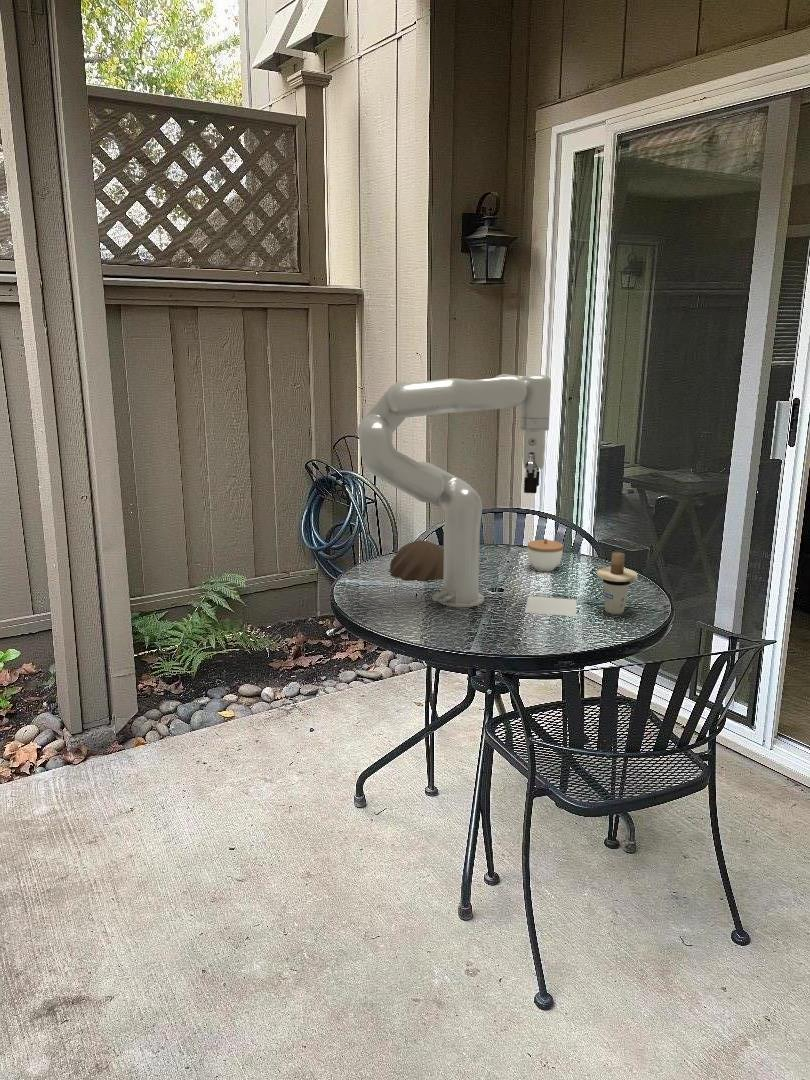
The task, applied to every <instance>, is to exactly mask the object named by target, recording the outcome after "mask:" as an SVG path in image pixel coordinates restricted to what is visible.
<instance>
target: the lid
mask: <svg viewBox="0 0 810 1080" xmlns="http://www.w3.org/2000/svg"><path fill="white" fill-rule="evenodd" d="M625 555H626V554H625V553H623V552H618V551H617V552H616V551H615V552H614V551H613V552H612V553H611V561H610V566H607V567H602V568H598V569H597V570H596V576H597V577H598V578H599V579H601V580H603V579H604V580H608V581H615V582H628V581H630V582H632V581H636V580H637V579H638V572H636V571H635V570H632V569H629V568H625V559H626V558H625Z"/></svg>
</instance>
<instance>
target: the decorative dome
mask: <svg viewBox="0 0 810 1080" xmlns="http://www.w3.org/2000/svg"><path fill="white" fill-rule="evenodd" d="M443 556H444V548H442V547H441V546H440V545H438V544H436V543H434V542H431V541H428V540H414V541H412V542H408V543H406V544H405V545H403V546H401V547H400V548H399V549H398V551H397V553H396V555H394V556H393V558H392V559H391V561H390V564H389V565H390V566H389V568H390V571H391V573H390V576H391V575H392V577H396V576H397V578H399V577H400V578H401V579H400V578H399V579H400V580H402V581H414V580H417V581H416V582H420V581H426V582H429V581H428V580H431V581H438V580H437V579H443Z"/></svg>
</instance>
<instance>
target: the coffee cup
mask: <svg viewBox="0 0 810 1080" xmlns="http://www.w3.org/2000/svg"><path fill="white" fill-rule="evenodd" d="M602 582H603V598H604V610H605V613H608V614H611V615H612V614H613V615H621V614H623V613H624V612H625V608H626V601H627V597H628V593H629V587H630V585H631V581H628V582H615V581H608V580H604V579H602Z"/></svg>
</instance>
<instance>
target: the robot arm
mask: <svg viewBox="0 0 810 1080" xmlns="http://www.w3.org/2000/svg"><path fill="white" fill-rule="evenodd" d="M551 390H552V380H551V378H550V377H549V376H548V375H544V374H543V375H542V374H529V375H515V374H508V373H503V374H499V375H496V376H495V377H494V378H485V379H482V378H481V379H466V378H454V377H453V378H443V379H435V380H424V381H416V382H415V381H414V382H413V381H412V382H405V381H399V382H396V383H394V384H392V385H391V386H390V387H389V388H388V389H387V390H386V392H385V393H384V394H383V395H382V396H381V397H380V399H379V400H378V401H377V402H376V403H375V404H374V405H373V407H372V408H371V409H370V410H369V411H368V412H367V414H365V416H364V417H363V418H362V419H361V420H360V423H359V424H358V427H357V435H358V436H357V437H358V440H359V446H360V447H359V450H360V455H361V459H362V462H363V463H364V465H365V467H366V468H367V470H368V471H369V472H370V473H371V474H373V475H374V477H376V478H378V479H380V480H381V481H382V482H385V483H387V484H389V485H390V486H392V487H394V488H395V489H398V490H399V491H401V492H403V493H405V494H407V495H409V496H411V497H412V498H414V499H416V500H417V501H419V502H422V503H431V504H433V505H434V506H437V507H438V508H440V509H443V510H444V525H443V550H444V556H443V580H442V586H440V590H439V592H436V593H434V594H432V596H431V599H432V601H434V602H438V603H439V604H440V605H442V604H443V606H445V605H446V607H454V608H471V607H476V606H479V605H481V604H482V603H484V601H485V597H484V595H483V594H482V593H480V592H479V584H480V582H479V577H480V575H479V574H480V536H481V532H480V531H481V522H482V515H483V503H482V502H483V501H482V499H481V497H480V494H479V493H478V492H477V490H476V489H474V487H472V486H471V485H470V484H469V483H468V482H466V481H465V480H463V479H461V478H459V477H457V476H455V475H454V474H451V473H449V472H448V471H446V470H444V469H442V468H440V467H438V466H437V465H435V464H432V463H431V462H427V461H416V460H415V459H413V458H411V457H410V456H408V455H406V454H404V453H402V452H400V451H399V450H397V449H396V448H395V446H394V444H393V433H394V432H395V431H396V430H397V429H398V428H399V426H400V425H401V424H402V423H403V422H404V421H405V419H407V418H416V417H423V416H424V417H425V416H432V415H440V414H443V415H444V414H452V413H467V412H474V411H490V410H498V409H508V408H514V407H517V406H519V405H520V406H519V428H518V429H519V430H520V431H523V444H522V445H523V446H522V447H523V449H522V451H523V453H522V454H523V455H522V456H523V457H522V458H523V461H522V462H523V463H522V464H523V468H524V469H525V472H524V473H525V474H524V481H523V492H524V493H525V494H536V493H537V492H538V490H537V489H538V487H539V485H540V470H542V469H543V468H544V467H545V449H546V447H545V446H546V445H545V444H546V435H545V433H546V432H547V431H549V430H550V417H551V416H550V414H551V413H550V411H551V393H552V392H551Z"/></svg>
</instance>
